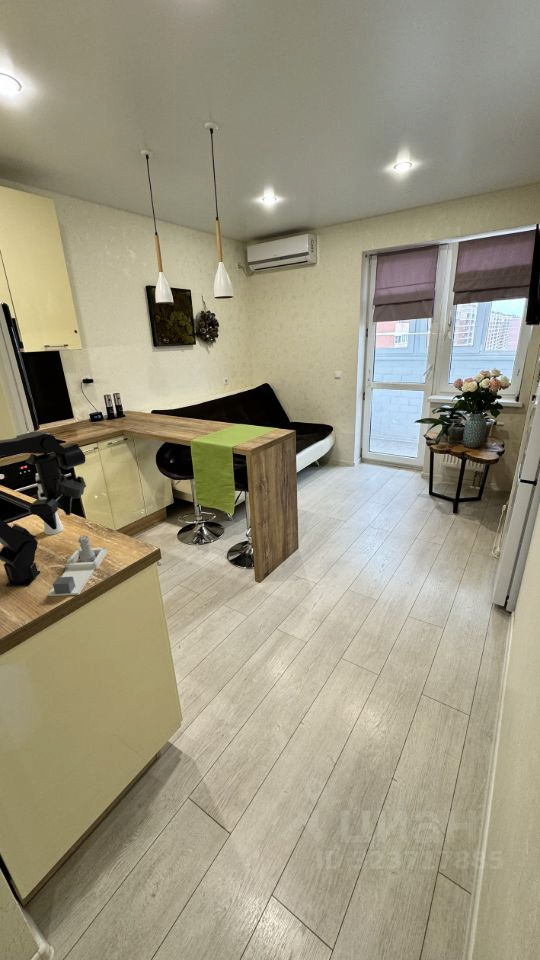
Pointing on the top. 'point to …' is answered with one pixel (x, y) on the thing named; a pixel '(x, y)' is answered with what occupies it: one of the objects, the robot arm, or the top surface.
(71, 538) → the top surface
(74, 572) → the grey board with frame
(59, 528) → the cosmetic bottle
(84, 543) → the rook chess piece
